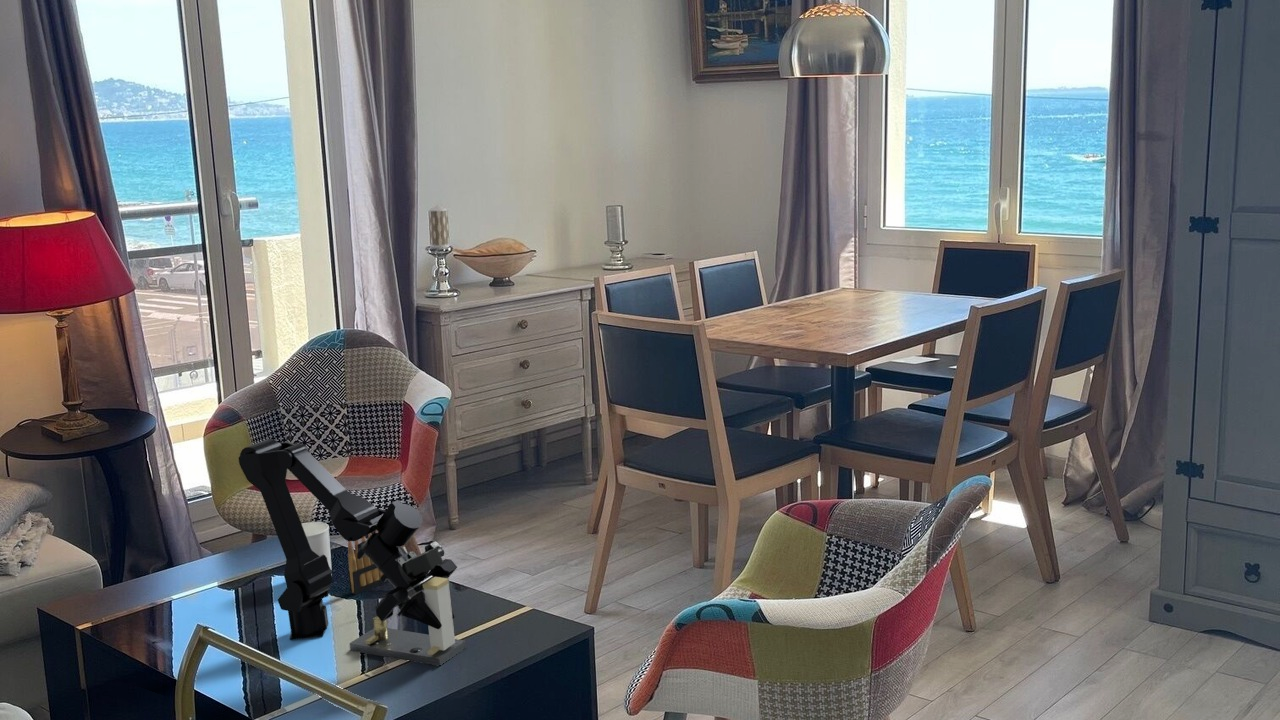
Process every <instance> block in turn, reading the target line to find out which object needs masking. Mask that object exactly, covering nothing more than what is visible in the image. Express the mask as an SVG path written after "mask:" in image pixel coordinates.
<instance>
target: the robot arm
mask: <svg viewBox="0 0 1280 720" xmlns="http://www.w3.org/2000/svg"><path fill="white" fill-rule="evenodd" d="M238 464H239V466H240V469H241V471H242V472H243V475H244V476H245V478H246V480H247V482H249V483H250V485H253V487H255V488H256V489H258V491H259V492H260V494H261V496H262V498H263V502H264V504H265V507H266V509H267V511H268V514H269V517H270V520H271V522H272V525H273V528H274V529H275V533H276V536H277V538H278V540H279V544H280V546H281V548H282V552H283V554H284V557H285V559H286V560H285V561H286V563H285V567H284V573H283V574H284V575H283V577H284V581H285V586H286V588H285V589H284V591H283V592H282V593H281V595H280V596H279V598H278V599H277V603H278V605H279V607H280V610H282V611H287V612H288V620H289V627H290V635H289V637H288V638H289V640H290V641H293V640H303V639H312V638H320V637H323V636H324V634H325V633H326V631H327V629H328V626H329V618H328V617H329V616H328V610H327V609H328V608H327V606H326V604H325V605H324V602H323V599H324V598H327V597H328V596H329V593H330V588H331V586H332V584H333V577H332V576H333V569H332V570H331V569H330V567H329V565H328V561H327V557H326V556H325V555H321V556H319V555H317V554H316V553H315V552H314V551H312V549H311V547H310V545H309V542H308V540H307V537H306V534H305V532H304V529H303V526H302V522H301V519H300V516H299V513H298V510H297V509H296V505H295V502H294V500H293V497H292V495H291V493H290V490H289V488H288V484H287V482H286V479H287V473H288V471H289V472H290V473H291V474H293V476H294V477H295V478H297V480H298V481H299V482H300V483H301V484H302V485H303V486H304V487H305V488H306V489H307V490H308V491H309V492H310V493H311V495H313V497H315V498H316V499H317V500H318V501H319V502H320V503H321V505H323V506H324V508H325V509H326V510H327V511H328V513H329V516H330V520H331V524H332V525H333V527H334V528H335V530H336V531H337V532H338V533H339V535H340V536H341V537H342V538H343V539H344V540H345V541H347V542H348V541H351V542H355V541H357V540H359V541H360V540H362V538H363V537H365V538H366V536H368V535H369V534H372V535H371V536H370V537H369V538H368V537H367V538H366V541H363V542H362V543H361V542H359V543H360V544H358V545H357V546H358V552H357V558H358V559H361V558H363V557H365V556H368V557H369V558H370V560H371V561H372V562H373V563H374V564H375V565H376V566H377V568H378V569H379V570H380V571H381V572H382V573H383V575H382V577H381V578H380V579H381V580H382V581H383V582H385V581H387V580H389V581H388V582H389V583H390V584H391V585H392V586H393V589H392V590H390V591H389V592H387V593H386V594H385V595H384V597H382V598H381V600H380V601H379V602H378V603H377V605H376V606H375V609H374V610H375V615H376V616H378V617H379V619H380V620H381V621H382V622H383V621H385V620H386V621H387V620H388V619H390V618H392V616H393V615H394V609H395V608H397V607H398V609H399V610H400V611H399V612H398V613H397V616H398V617H402V616H403V617H405V618H408V619H412V620H413V621H417V622H419V623H421V624H425V625H426V626H428V625H429V626H431V627H434V628H436V629H440V628H441V627H442V624H441V623H440V621H439V620H438V618H437V617H436V616H435V615H434V613H433V612H432V611H431V609H430V608H429V607H428V606H427V604H426V603H425V596H424V588H423V584H424V583H425V582H427V581H429V580H430V579H432V578H434V577H441V578H448V579H449V578H450V577H451V575H453V573H454V572H455V571H456V570H457V568H458V565H456V563H455V562H454V561H453V560H452V559H450V558H449V559H448V558H445V559H443V558H442V557H444V556H445V551H444V549H443V547H442V546H441V544H440V543H438V542H437V541H433V542H430V543H429V544H427V545H425V546H424V552H422V553H421V554H418V555H417V554H416V553H415V551H412V550H410V551H408V552H407V551H406V550H405V549H404V548H403V546H405V545H407V543H408V542H409V541H410V540H411V538H413V536H414V535H415V533H417V531H418V530H419V529H420V527H421V526H422V525H423V520H424V519H423V516H422V514H421V512H420V510H419V509H418V508H417V507H413V506H412V505H410V504H407V503H402V502H401V501H400V500H399V499H397V500H394V501H392V502H390V503H389V505H388V506H387V508H386V510H384V509H381V508H377V507H376V506H375V505H373V504H372V503H371V502H369V501H368V500H367V499H365V498H364V497H362V496H359V495H357V494H353V493H352V492H350V491H348V490H347V488H345V487H344V486H343V485H342V484H341V483H340V482H339V481H338V479H336V478H335V477H334V476H333V474H331V473H330V472H329V471H328V470H327V469H326V468H325V466H323V465H322V464H321V462H320V461H318V460H317V459H316V458H315V457H314V456H313V454H311V452H310V450H309V447H308V446H307V445H305V444H302V443H292V442H289V441H287V442H286V441H285V442H283V441H282V442H280V441H279V442H278V441H276V440H275V439H273V438H269V439H265V440H262V441H259V442H257V443H254V444H251V445H249V446H246V447H244V448H242V450H241V451H240V454H239V456H238ZM376 530H377V531H378V533H375V532H376ZM331 574H332V575H331ZM453 611H454V610H452V618H453V620H454V619H455V614H454V612H453Z"/></svg>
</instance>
